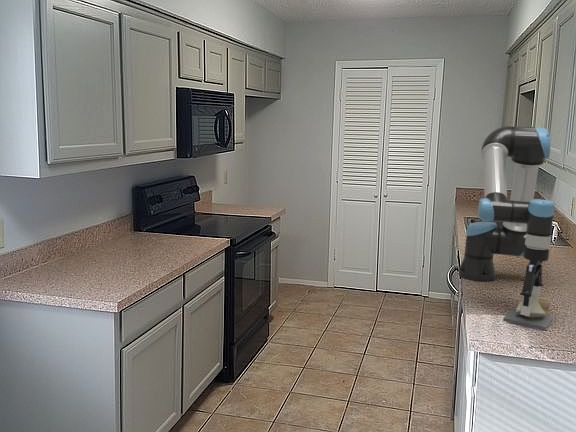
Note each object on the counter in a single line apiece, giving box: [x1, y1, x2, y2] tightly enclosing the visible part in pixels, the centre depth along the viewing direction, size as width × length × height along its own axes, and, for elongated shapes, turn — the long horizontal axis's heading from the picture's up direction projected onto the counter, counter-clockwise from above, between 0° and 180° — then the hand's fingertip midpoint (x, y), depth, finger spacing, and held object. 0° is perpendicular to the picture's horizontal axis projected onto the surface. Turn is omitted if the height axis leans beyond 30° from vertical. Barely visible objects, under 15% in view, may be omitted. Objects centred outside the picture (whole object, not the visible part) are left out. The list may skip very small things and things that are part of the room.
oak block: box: [538, 296, 550, 315], centre depth 198 cm, size 5×5×5 cm
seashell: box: [516, 296, 546, 318], centre depth 190 cm, size 8×8×8 cm
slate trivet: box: [502, 307, 554, 331], centre depth 190 cm, size 13×13×1 cm
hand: (529, 309), depth 190 cm, fingers open, 13 cm apart
